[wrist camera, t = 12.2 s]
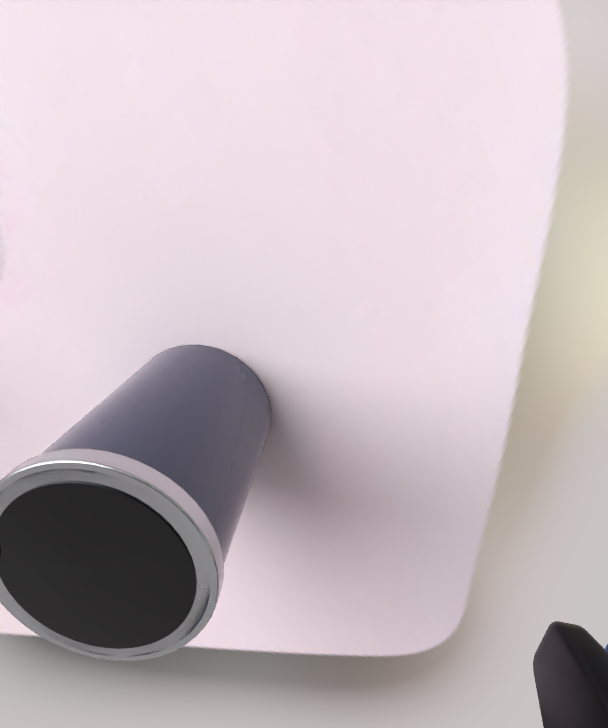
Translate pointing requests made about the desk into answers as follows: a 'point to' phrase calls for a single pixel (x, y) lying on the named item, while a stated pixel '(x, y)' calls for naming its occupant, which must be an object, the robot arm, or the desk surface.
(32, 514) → the navy blue tumbler
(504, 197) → the desk surface
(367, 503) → the desk surface
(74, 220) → the desk surface
